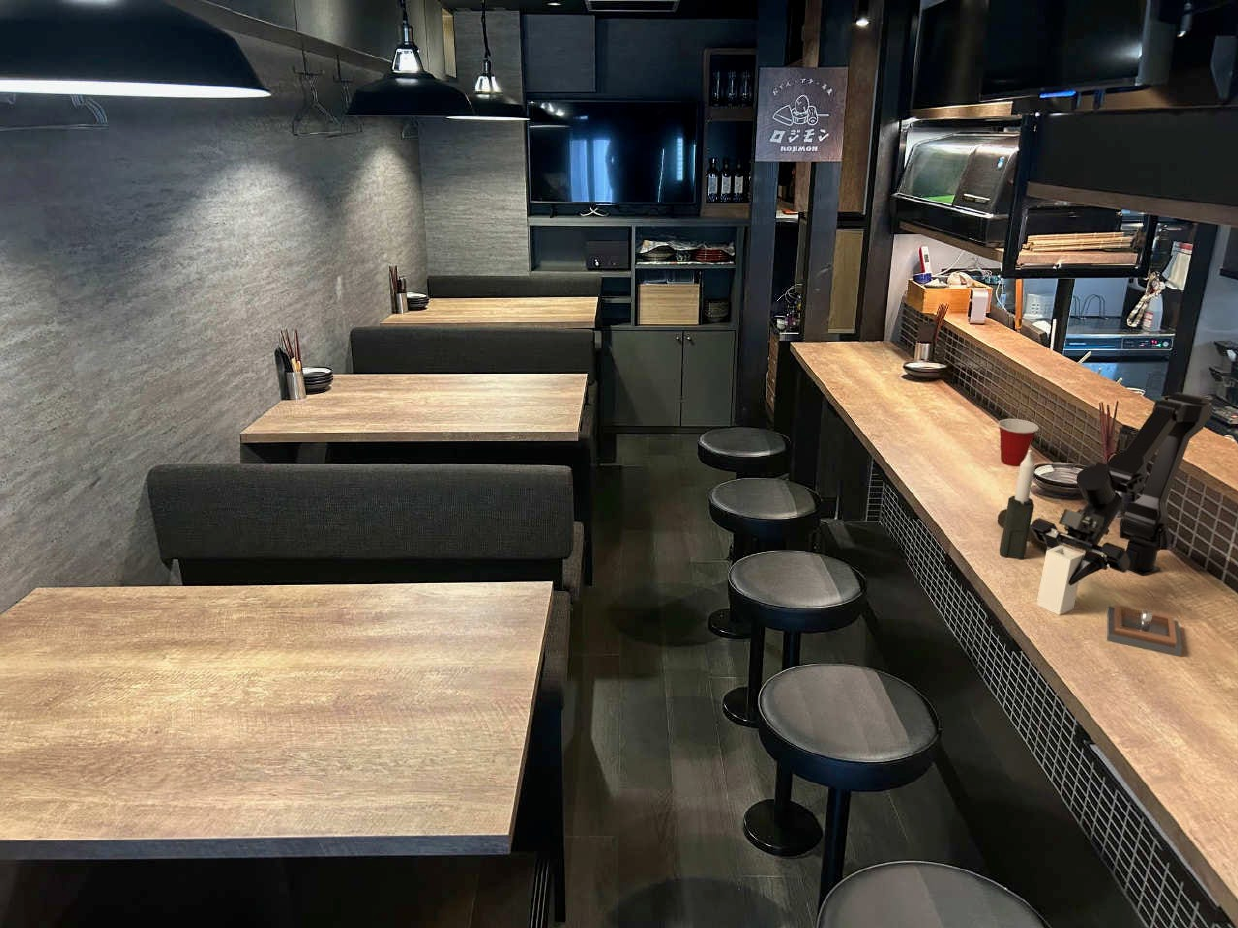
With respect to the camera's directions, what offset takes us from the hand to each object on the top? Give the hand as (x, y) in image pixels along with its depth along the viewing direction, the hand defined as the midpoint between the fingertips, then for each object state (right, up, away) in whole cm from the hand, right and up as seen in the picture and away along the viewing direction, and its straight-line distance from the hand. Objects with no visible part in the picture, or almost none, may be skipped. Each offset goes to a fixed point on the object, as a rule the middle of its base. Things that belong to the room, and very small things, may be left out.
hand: (1056, 578), depth 182 cm
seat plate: (+13, -10, -7) cm, 18 cm away
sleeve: (+1, -6, +3) cm, 7 cm away
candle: (+2, +2, +27) cm, 27 cm away
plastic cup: (+28, +23, +87) cm, 94 cm away
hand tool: (+9, +5, +35) cm, 36 cm away
